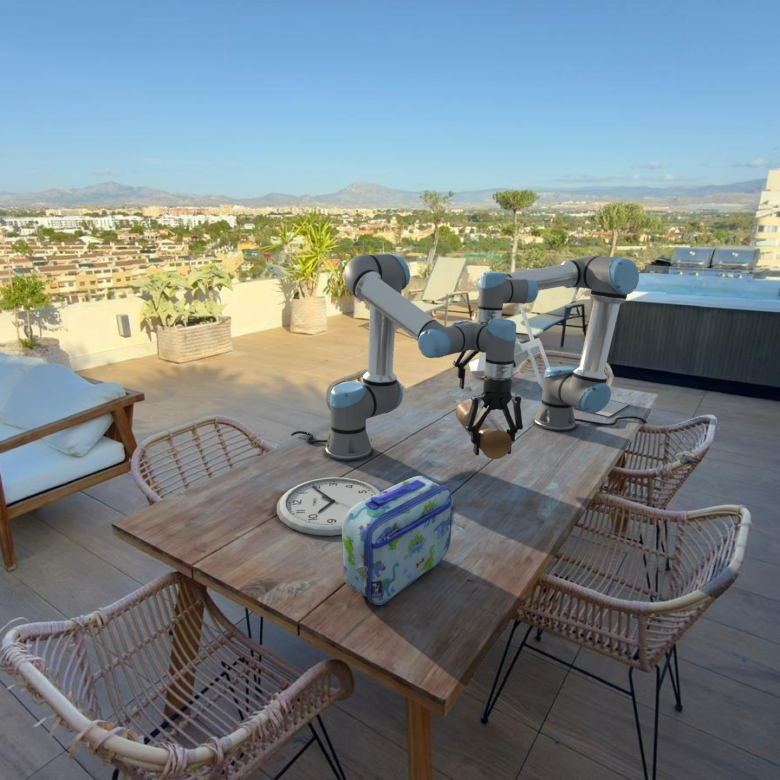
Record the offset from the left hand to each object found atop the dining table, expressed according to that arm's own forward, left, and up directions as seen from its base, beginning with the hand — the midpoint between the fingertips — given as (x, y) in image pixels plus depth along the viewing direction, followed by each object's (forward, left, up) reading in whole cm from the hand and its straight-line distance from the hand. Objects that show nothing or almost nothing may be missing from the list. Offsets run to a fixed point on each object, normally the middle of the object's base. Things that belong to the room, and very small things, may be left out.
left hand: (491, 452), depth 149 cm
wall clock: (-33, -32, -12) cm, 47 cm away
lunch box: (-3, -49, -12) cm, 50 cm away
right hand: (-12, +21, +12) cm, 27 cm away
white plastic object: (-31, +109, -12) cm, 114 cm away
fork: (-5, -20, -12) cm, 24 cm away
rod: (-7, +8, -1) cm, 10 cm away
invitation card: (+14, +98, -12) cm, 100 cm away
